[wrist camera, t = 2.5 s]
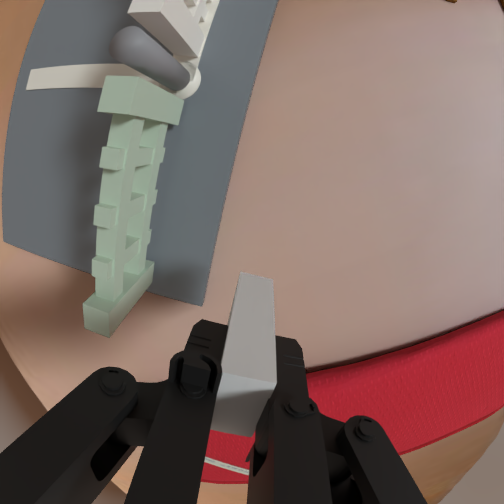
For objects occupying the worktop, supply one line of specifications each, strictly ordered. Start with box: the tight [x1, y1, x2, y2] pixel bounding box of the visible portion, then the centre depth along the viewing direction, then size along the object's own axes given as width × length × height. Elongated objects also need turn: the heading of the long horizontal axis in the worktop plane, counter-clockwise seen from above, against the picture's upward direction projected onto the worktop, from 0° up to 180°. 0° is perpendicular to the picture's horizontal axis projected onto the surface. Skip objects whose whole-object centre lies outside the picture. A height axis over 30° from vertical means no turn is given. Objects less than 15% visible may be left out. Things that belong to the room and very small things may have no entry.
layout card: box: [2, 0, 278, 306], centre depth 14 cm, size 24×18×1 cm
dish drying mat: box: [201, 310, 504, 484], centre depth 21 cm, size 16×41×4 cm, turn 103°
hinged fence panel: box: [83, 26, 190, 338], centre depth 12 cm, size 13×1×6 cm, turn 166°
